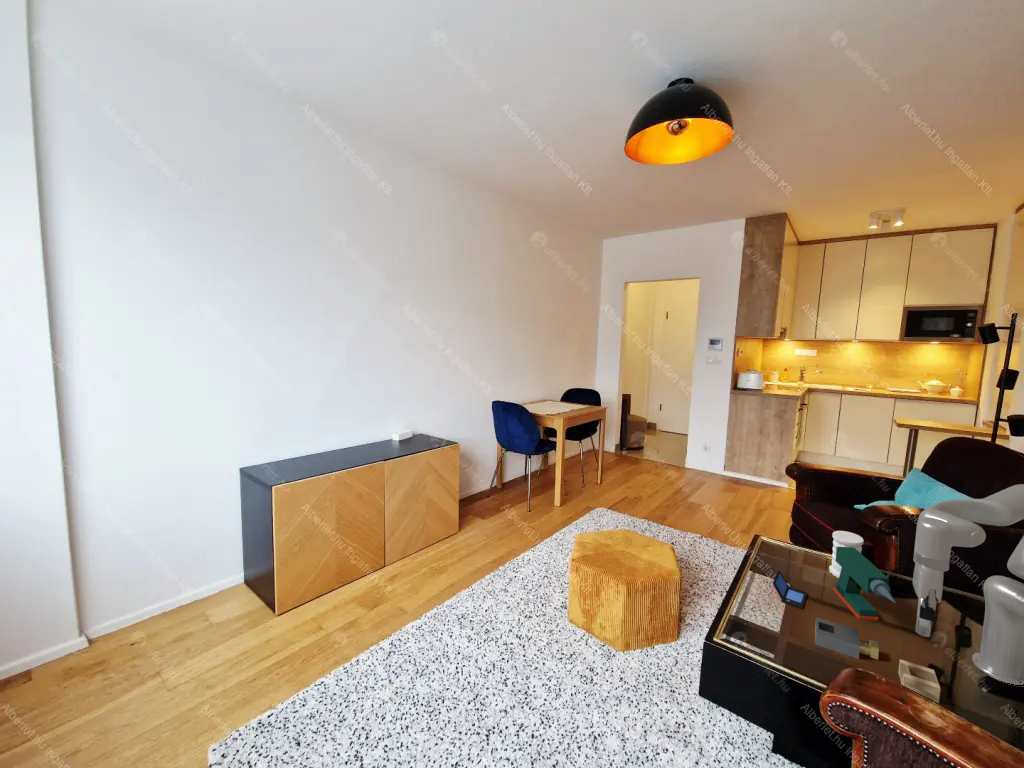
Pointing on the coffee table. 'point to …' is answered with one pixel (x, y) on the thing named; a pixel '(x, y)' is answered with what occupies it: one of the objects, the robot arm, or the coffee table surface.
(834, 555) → the decorative container
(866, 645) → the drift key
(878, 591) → the power tool
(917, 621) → the grey peg
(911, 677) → the beige open box
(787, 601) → the handheld game console
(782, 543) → the coffee table surface
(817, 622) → the socket block
